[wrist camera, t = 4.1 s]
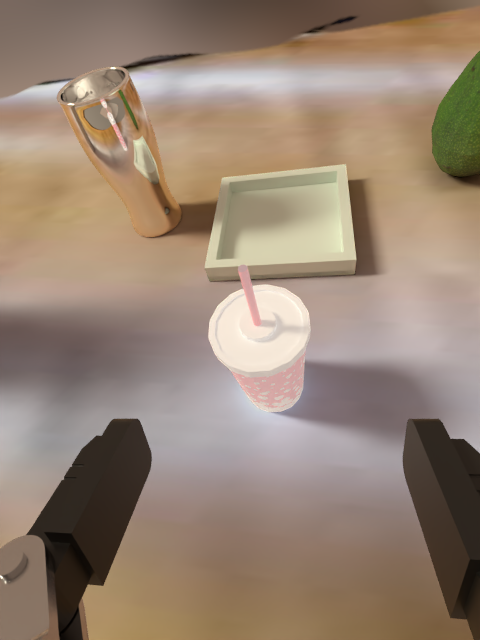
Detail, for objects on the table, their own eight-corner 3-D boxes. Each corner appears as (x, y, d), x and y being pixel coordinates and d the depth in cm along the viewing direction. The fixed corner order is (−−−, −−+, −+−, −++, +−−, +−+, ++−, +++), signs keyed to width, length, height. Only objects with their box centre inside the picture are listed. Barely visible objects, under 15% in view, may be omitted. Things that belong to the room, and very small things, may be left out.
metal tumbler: (196, 216, 41) (144, 75, 29) (148, 249, 40) (71, 114, 27) (166, 193, 45) (109, 59, 33) (121, 222, 43) (43, 93, 31)
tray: (209, 281, 35) (204, 268, 34) (225, 192, 43) (222, 177, 41) (354, 274, 32) (356, 259, 31) (344, 180, 40) (345, 164, 38)
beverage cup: (308, 428, 26) (300, 328, 14) (229, 416, 27) (163, 317, 16) (316, 354, 29) (314, 223, 17) (244, 347, 30) (199, 223, 19)
